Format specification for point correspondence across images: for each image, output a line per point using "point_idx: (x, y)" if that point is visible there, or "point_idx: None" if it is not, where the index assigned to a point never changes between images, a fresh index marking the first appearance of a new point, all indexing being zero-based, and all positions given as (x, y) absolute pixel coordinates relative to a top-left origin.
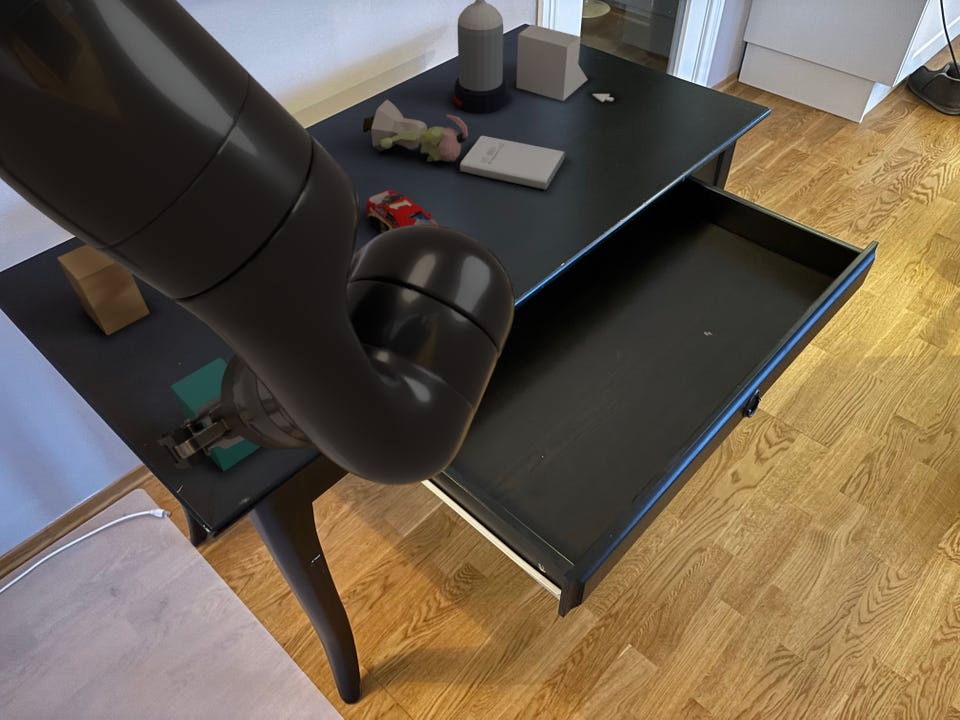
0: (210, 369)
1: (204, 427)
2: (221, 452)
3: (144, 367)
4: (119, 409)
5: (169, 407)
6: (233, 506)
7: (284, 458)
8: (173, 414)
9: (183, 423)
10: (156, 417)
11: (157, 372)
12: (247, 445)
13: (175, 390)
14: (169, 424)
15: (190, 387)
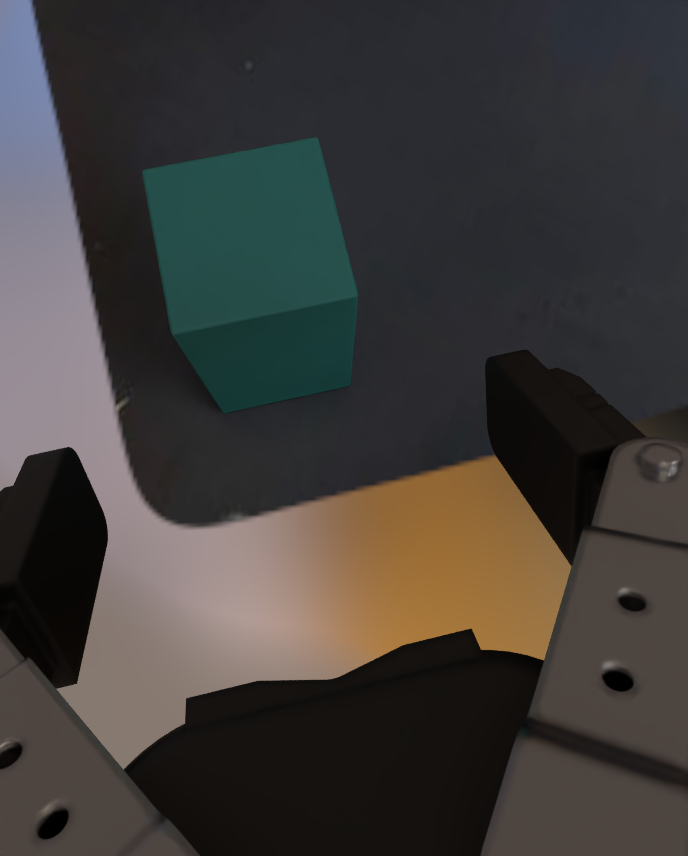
0: (273, 169)
1: (43, 624)
2: (225, 391)
3: (174, 37)
4: (83, 123)
5: None
6: (206, 520)
7: (363, 452)
8: None
9: (23, 465)
10: None
11: (194, 65)
12: (295, 387)
13: (150, 193)
14: None
15: (193, 205)
